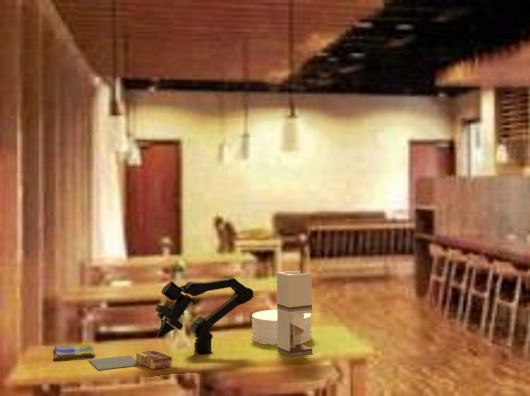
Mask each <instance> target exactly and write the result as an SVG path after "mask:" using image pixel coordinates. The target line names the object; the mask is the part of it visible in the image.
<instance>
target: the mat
mask: <svg viewBox="0 0 530 396" xmlns="http://www.w3.org/2000/svg"><path fill="white" fill-rule="evenodd" d="M88 362H89V363H90V364H91V365H92V366H93V368H95V369H96V370H97V371H98V372H99V371H106V370H113V369H123V368H124V369H125V368H131V366H132V367H138V366H142V365H143V364H140V363H138V362H136V358H134V357H133V356H132V355H129V354H128V355H122V356H120V355H119V356H112V357H111V356H110V357H103V358H92V359H89V360H88Z"/></svg>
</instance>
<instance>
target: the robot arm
mask: <svg viewBox="0 0 530 396" xmlns="http://www.w3.org/2000/svg"><path fill="white" fill-rule="evenodd" d="M228 288H230V289H231V291H232V290H233V294H232V296H231V297H230V298H229V299H228V300H226V301H225V302H224V303H223V304H222V305H220V306H219V307H217V308H216V309H215V310H214V311H212V312H211V313H210V314H208V315H207V316H206V317H203V316H201V315H200V316H198V317H197V318H196V319H195V320H192V324H191V325H190V333H191V334H192V335H194V336H193V337H195V342H194V345H193V346H194V351H193V352H194V353H196V354H197V355H208V354H213V353H214V351H212V340H213V334H212V333H211V332H210V331H211V330H212V328H213V327H214V325H215V324H216V323H218V322H219V321H220V320H221V319H222V318H224V317H225V316H226V315H228V314H229V313H230V312H231V311H233V310H234V309H235V308H237V307H238V306H240V305H243V304H246V303H248V302H250V301H251V300H252V299H254V291H253V289H252V288H249V287H247V286H245V285H243V284H242V283H241V282H239V281H238V280H237V279H236V278H234V277H231V276H230V277H227V278H220V279H216V280H210V281H188V282H186V284H184V285H181V286H178V285H177V284H176V283H175V282H174V281H173V280H172V281H171V280H170V281H169V282H168V283H167V284H166V285H164V287H163V288H162V289H161V292H160V293H161V294H162V295H163V296H164V297H166V298H167V299H168V300H170V301H172V302H173V301H174V303H173V304H170V305H169V304H166V303H164V304H160V303H157V304H156V307H155V312H157V315H156V316H157V317H158V318H159V320H160V327H159V330H158V333H157V334H156V337H157V338H161V337H163V336H165V335H167V334H168V333H170V332H171V331H174V330H176V329H177V330H178V331H181V330H182V329H183V323H182V322H180V321H179V320H180V318H181V317H182V316H184V315H185V311H186V310H187V309H188V307H189V305H190V304H193V305H196V297H197V296H200V295H202V294H205V293H206V292H210V291H216V290H223V289H228ZM183 293H184V294H183ZM189 295H190V296H189Z"/></svg>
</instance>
